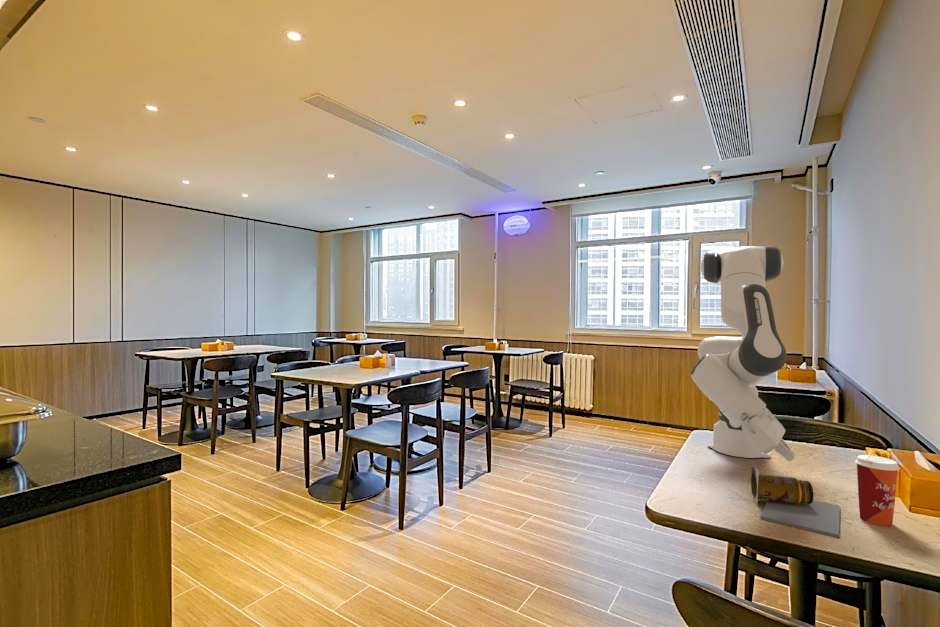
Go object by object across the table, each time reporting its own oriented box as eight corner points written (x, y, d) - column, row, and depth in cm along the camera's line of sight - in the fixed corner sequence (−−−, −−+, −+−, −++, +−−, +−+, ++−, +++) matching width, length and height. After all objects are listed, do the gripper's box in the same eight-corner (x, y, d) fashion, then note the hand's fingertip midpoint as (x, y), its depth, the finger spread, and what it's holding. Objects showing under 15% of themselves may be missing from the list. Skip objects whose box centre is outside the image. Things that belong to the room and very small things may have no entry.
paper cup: (886, 531, 103) (887, 466, 103) (846, 517, 110) (847, 456, 110) (906, 525, 106) (907, 462, 106) (866, 512, 113) (867, 452, 113)
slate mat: (771, 493, 124) (771, 491, 124) (839, 508, 115) (839, 505, 115) (760, 518, 108) (760, 516, 108) (838, 537, 99) (838, 534, 99)
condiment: (756, 505, 116) (815, 512, 112) (757, 471, 115) (816, 477, 112) (749, 493, 123) (804, 499, 119) (750, 460, 122) (805, 466, 118)
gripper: (750, 409, 109) (801, 461, 103) (762, 398, 125) (807, 442, 119) (727, 425, 112) (776, 477, 106) (742, 412, 128) (785, 456, 122)
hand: (792, 458), depth 113 cm, fingers closed
